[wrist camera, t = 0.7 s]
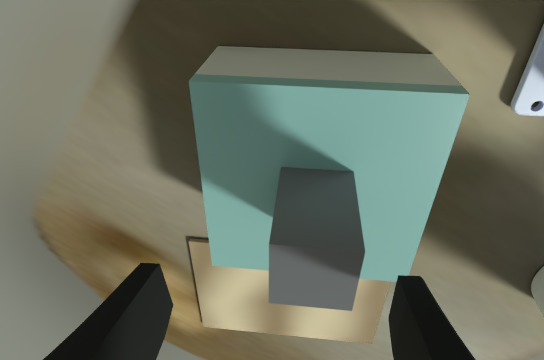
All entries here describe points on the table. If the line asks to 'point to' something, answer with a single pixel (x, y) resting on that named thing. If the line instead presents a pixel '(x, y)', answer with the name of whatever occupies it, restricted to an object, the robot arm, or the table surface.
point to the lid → (320, 177)
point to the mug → (538, 289)
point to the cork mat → (277, 317)
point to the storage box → (328, 65)
